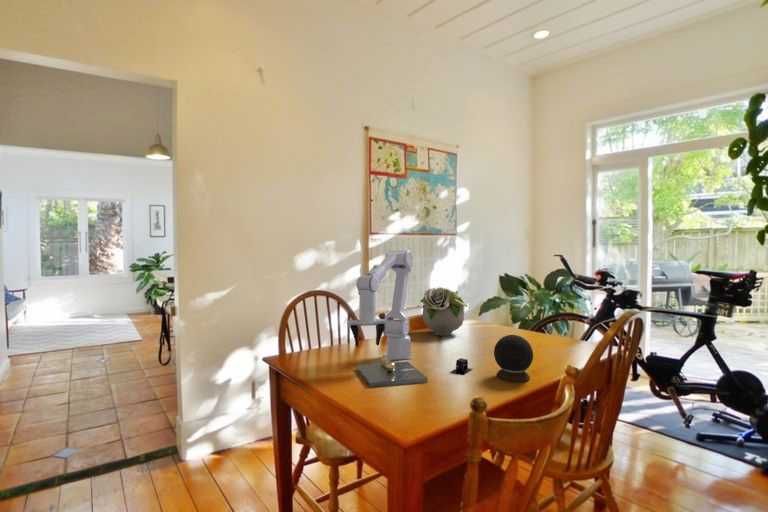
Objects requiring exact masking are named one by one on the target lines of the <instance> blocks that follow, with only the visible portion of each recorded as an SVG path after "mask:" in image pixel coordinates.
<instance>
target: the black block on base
mask: <svg viewBox="0 0 768 512" xmlns="http://www.w3.org/2000/svg"><path fill="white" fill-rule="evenodd" d="M455 362H456V364H455V369H453V370H451V371H449V373H450V374H454V375H460V376H465V375H466V374H469V373H470V372H472V371H473V370H474V368H470V367H469V362H468V359H467V358H462V357H461V358H459V359H457V360H456V361H455Z"/></svg>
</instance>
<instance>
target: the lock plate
mask: <svg viewBox="0 0 768 512" xmlns="http://www.w3.org/2000/svg"><path fill="white" fill-rule="evenodd" d="M394 363H395V371H392V372H390V371H386V368H385V367H384V366H383V365H382V364H381V363H372V364H359V365H356V370H357V372H358V373H359V374H360V376H361V377H362V379H363V380H364V382H365V383H366V384H367V385H368V387H369V388H379V387H391V386H400V385H401V386H402V385H412V384H423V383H428V382H429V381H428V377H427V376H426V375H424V374H423V373H422V372H421V371H420V370H419V369H417V368H416V366H414V365H412V363H410V362H408V361H397V362H395V361H394Z"/></svg>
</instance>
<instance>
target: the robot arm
mask: <svg viewBox="0 0 768 512" xmlns="http://www.w3.org/2000/svg"><path fill="white" fill-rule="evenodd" d="M384 256H385V258H384V259H383V260H382V261H381V262H380V263H379V264H374V265H373V266H372V267H371V269H370V270H369V271H367V272H366V273H365V274H363V275H360V276H359V277H358V279H357V281H356V284H355V285H356V289H357V291H358V293H357V294H358V296H359V319H352V320H351V319H350V320H347V322H346V326H347V327H349V328H350V330H351V333H352V335H353V338H354V343H355V347H359V327H362V326H363V327H364V326H365V327H366V326H375V334H376V335H375V344H376V345H377V346H380V342H381V338H382V335H383V333H384V334H385V336H386V353H384V354H383V356H385V357H387V358H388V359H389V360H390V361H397V360H408V359H412V353H411V352H412V351H411V349H412V343H411V337H410V335H408V334H409V331H410V318H409V316H408V315H407V314H405V312H404V311H405V306H406V305H405V303H406V295H407V289H408V282H409V281H408V280H409V274H410V272H411V271H412V267H413V260H414V257H413V254H412V252H411V250H409V249H404V250H403V249H402V250H400V249H388V250H387V251H386V252H385V255H384ZM389 269H391V271H394V272H395V274H396V275H395V281H394V288H393V294H392V303H391V311H389V312H388V313H386V314H385V317H384V319H383V318H376V291H378V289H379V286H380V283H381V281H382V280H383V279H384V278H385V277H386V276H387V271H388V270H389Z"/></svg>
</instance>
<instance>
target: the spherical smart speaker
mask: <svg viewBox="0 0 768 512" xmlns="http://www.w3.org/2000/svg"><path fill="white" fill-rule="evenodd" d="M493 357H494V361H495V362H496V364H497V365H498V367H499V368H500V369H499V370H498V371H497V372H496V378H497V379H498V380H500V381H503V382H506V383H507V382H508V383H512V384H513V383H515V384H523V383H524V384H525V383H527V382H529V381H530V380H531V378H530V377H531V376H530V375H529V374H528V372H526V371H527V370H528V369H529V368H530V367H531V365H532V363H533V360H534V351H533V347H532V346H531V344H530V342H529V341H528V340H527V339H525V338H524V337H522V336H521V335H518V334H517V335H516V334H506V335H505V336H502V337H501V338H499V340H497V341H496V344H495V345H494V349H493Z"/></svg>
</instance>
